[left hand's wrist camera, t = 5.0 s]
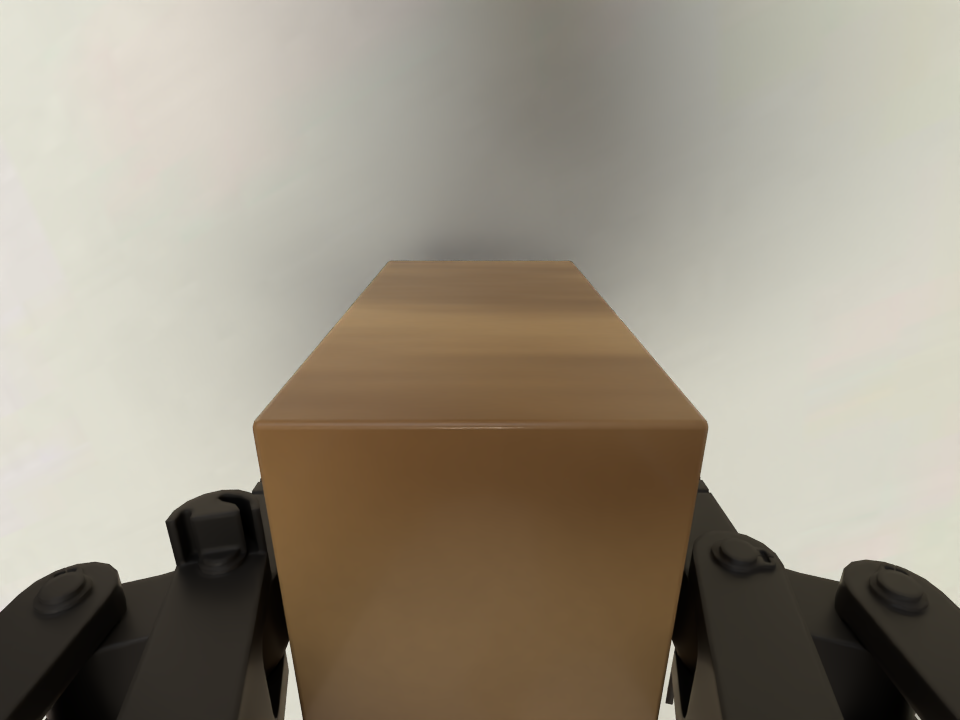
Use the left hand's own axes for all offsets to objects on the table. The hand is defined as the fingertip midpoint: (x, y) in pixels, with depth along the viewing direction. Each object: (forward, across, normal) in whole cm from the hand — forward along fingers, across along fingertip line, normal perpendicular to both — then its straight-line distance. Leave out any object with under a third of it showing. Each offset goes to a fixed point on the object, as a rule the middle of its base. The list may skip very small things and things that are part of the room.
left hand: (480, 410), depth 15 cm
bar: (+1, 0, -8) cm, 8 cm away
